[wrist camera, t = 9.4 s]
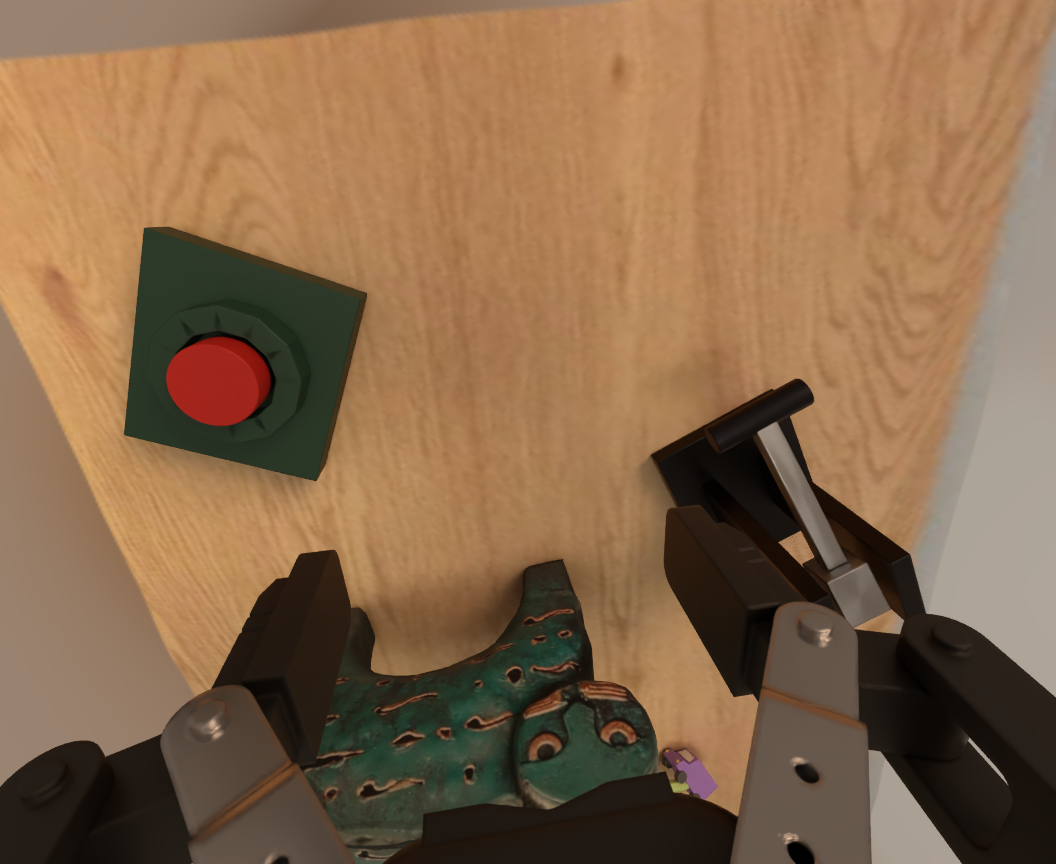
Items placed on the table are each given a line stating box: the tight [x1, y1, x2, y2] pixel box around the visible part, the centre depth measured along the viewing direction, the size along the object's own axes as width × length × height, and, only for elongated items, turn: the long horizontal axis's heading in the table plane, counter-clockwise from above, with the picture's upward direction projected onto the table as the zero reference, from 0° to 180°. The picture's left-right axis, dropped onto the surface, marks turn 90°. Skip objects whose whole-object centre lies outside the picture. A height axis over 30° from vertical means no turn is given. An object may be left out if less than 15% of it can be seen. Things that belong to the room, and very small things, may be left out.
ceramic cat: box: [299, 559, 659, 864], centre depth 28 cm, size 20×6×20 cm, turn 99°
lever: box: [704, 379, 891, 628], centre depth 25 cm, size 12×5×2 cm, turn 29°
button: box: [166, 337, 271, 426], centre depth 25 cm, size 4×4×2 cm
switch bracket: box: [651, 389, 926, 621], centre depth 30 cm, size 11×9×13 cm
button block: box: [124, 227, 367, 481], centre depth 27 cm, size 11×10×4 cm
